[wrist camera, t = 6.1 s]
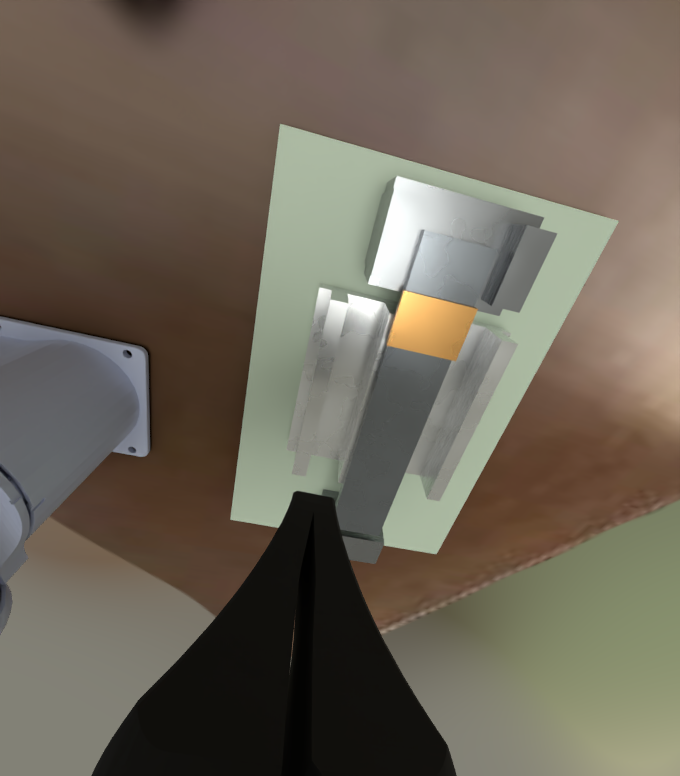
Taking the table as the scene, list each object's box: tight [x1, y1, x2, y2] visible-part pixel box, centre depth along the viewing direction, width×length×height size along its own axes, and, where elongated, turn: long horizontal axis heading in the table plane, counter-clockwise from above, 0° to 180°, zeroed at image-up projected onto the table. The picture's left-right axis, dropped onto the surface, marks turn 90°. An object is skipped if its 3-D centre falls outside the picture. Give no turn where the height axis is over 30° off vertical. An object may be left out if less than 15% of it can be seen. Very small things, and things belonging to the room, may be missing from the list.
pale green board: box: [230, 124, 619, 554], centre depth 21 cm, size 16×24×1 cm, turn 167°
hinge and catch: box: [322, 176, 558, 564], centre depth 18 cm, size 6×20×4 cm, turn 167°
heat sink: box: [286, 284, 518, 501], centre depth 19 cm, size 10×10×3 cm
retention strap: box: [335, 230, 498, 536], centre depth 17 cm, size 3×16×1 cm, turn 167°
